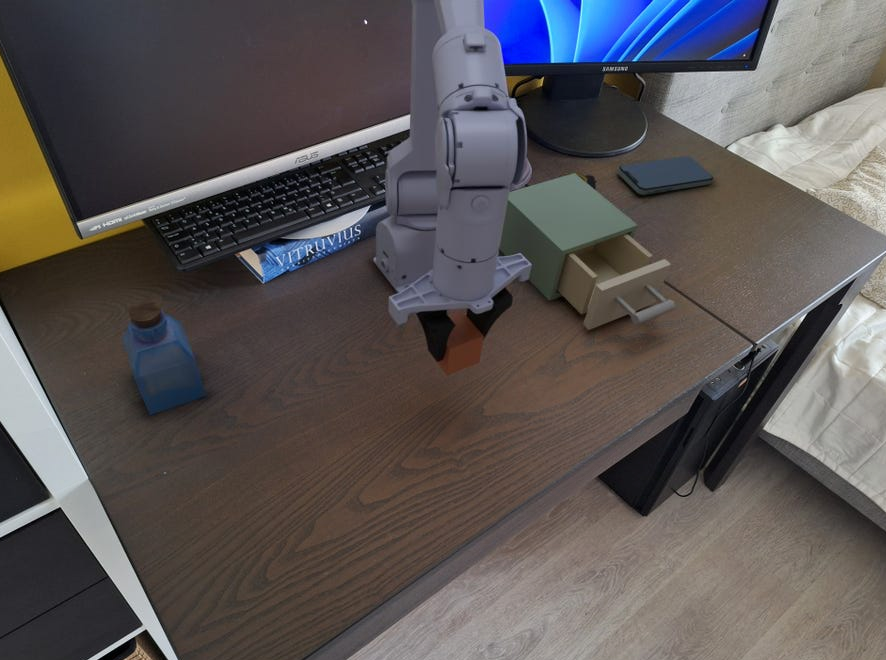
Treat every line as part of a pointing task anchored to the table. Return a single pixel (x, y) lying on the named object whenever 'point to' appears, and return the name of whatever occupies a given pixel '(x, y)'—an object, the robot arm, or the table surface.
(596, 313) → the drawer
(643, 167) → the smartphone
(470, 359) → the block
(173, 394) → the perfume bottle
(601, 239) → the cabinet
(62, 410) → the table surface
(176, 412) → the table surface
